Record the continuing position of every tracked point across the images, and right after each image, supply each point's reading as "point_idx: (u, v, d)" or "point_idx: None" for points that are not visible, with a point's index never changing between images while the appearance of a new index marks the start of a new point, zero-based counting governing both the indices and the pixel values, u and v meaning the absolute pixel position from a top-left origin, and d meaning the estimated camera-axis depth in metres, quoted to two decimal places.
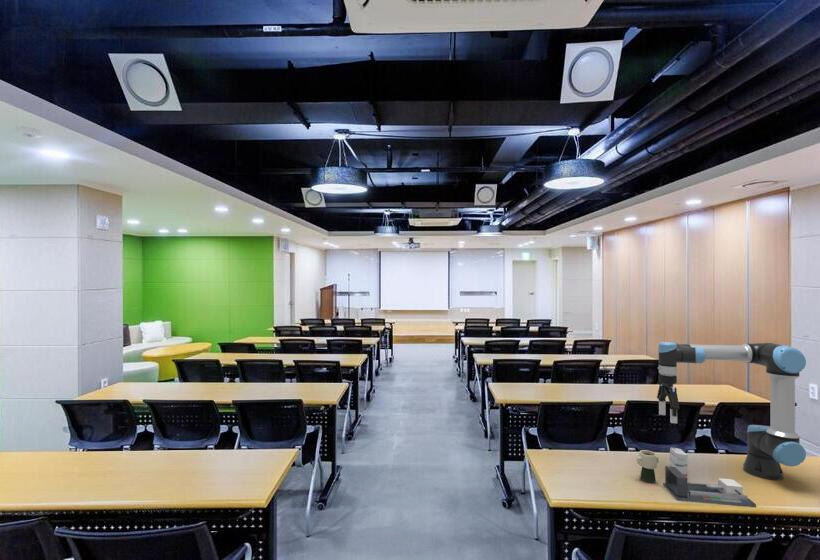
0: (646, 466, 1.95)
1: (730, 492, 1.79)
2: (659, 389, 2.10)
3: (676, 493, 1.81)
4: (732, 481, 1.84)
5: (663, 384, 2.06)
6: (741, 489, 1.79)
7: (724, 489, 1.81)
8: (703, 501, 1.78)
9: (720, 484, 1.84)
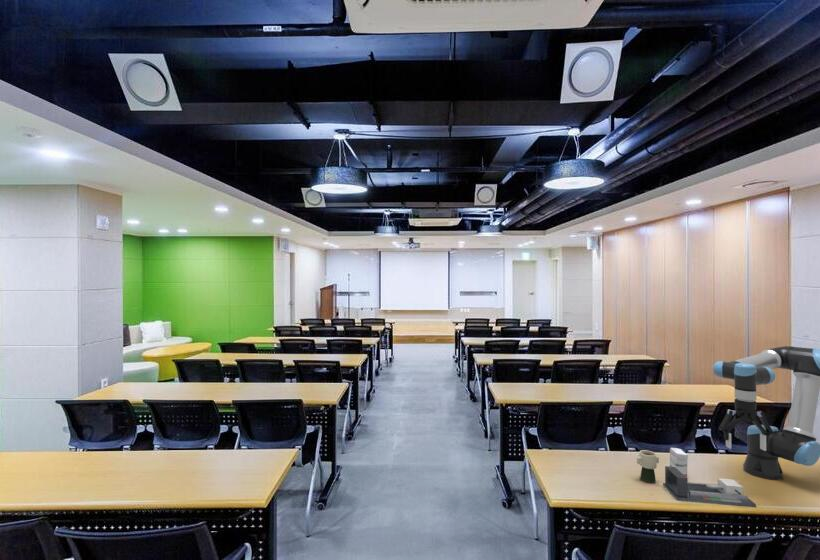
0: (646, 466, 1.95)
1: (730, 492, 1.79)
2: None
3: (676, 493, 1.81)
4: (732, 481, 1.84)
5: None
6: (741, 489, 1.79)
7: (724, 489, 1.81)
8: (703, 501, 1.78)
9: (720, 484, 1.84)
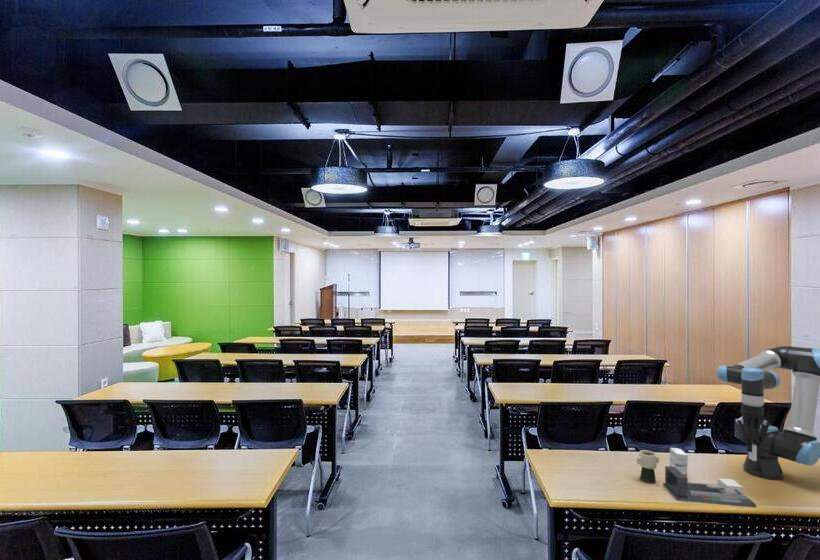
0: (646, 466, 1.95)
1: (730, 492, 1.79)
2: (760, 428, 1.82)
3: (676, 493, 1.81)
4: (732, 481, 1.84)
5: None
6: (741, 489, 1.79)
7: (724, 489, 1.81)
8: (703, 501, 1.78)
9: (720, 484, 1.84)
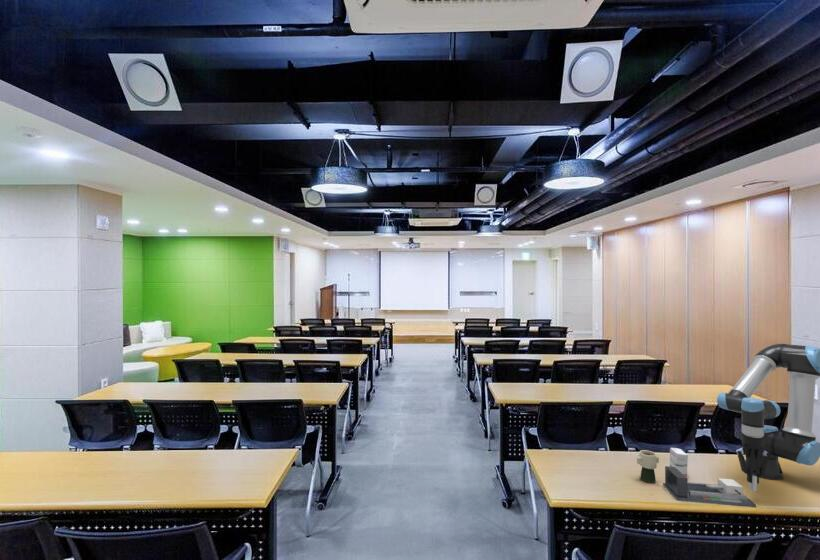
0: (646, 466, 1.95)
1: (730, 492, 1.79)
2: (761, 459, 1.82)
3: (676, 493, 1.81)
4: (732, 481, 1.84)
5: None
6: (741, 489, 1.79)
7: (724, 489, 1.81)
8: (703, 501, 1.78)
9: (720, 484, 1.84)
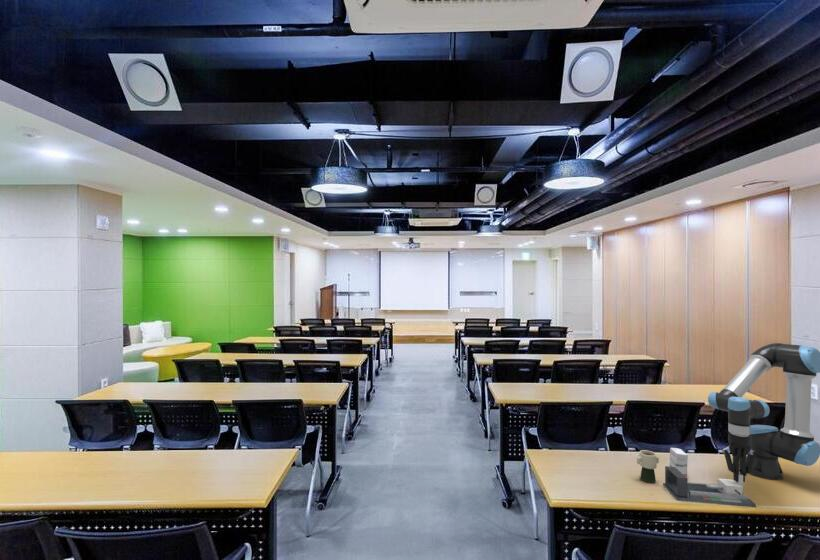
0: (646, 466, 1.95)
1: (730, 492, 1.79)
2: (747, 458, 1.83)
3: (676, 493, 1.81)
4: (732, 481, 1.84)
5: None
6: (741, 489, 1.79)
7: (724, 489, 1.81)
8: (703, 501, 1.78)
9: (720, 484, 1.84)
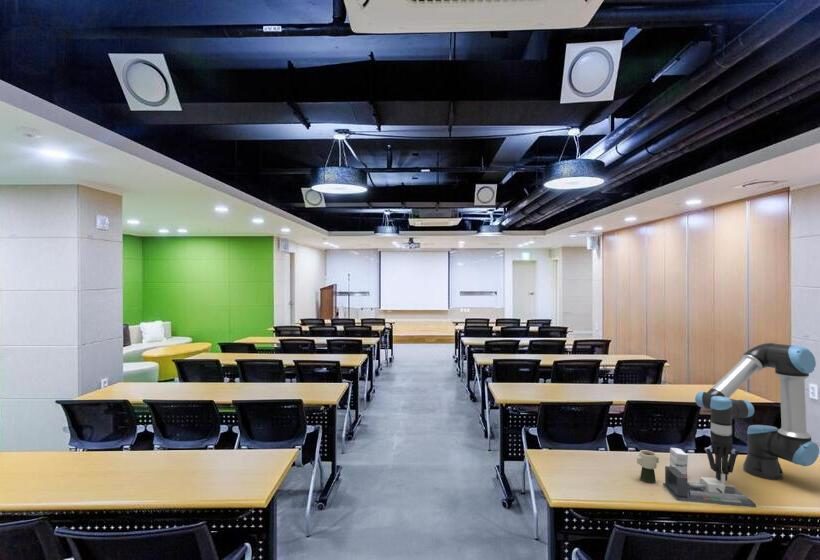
0: (646, 466, 1.95)
1: (712, 491, 1.80)
2: (729, 457, 1.84)
3: (676, 493, 1.81)
4: (714, 480, 1.85)
5: None
6: (723, 488, 1.80)
7: (706, 487, 1.82)
8: (703, 501, 1.78)
9: (702, 483, 1.85)
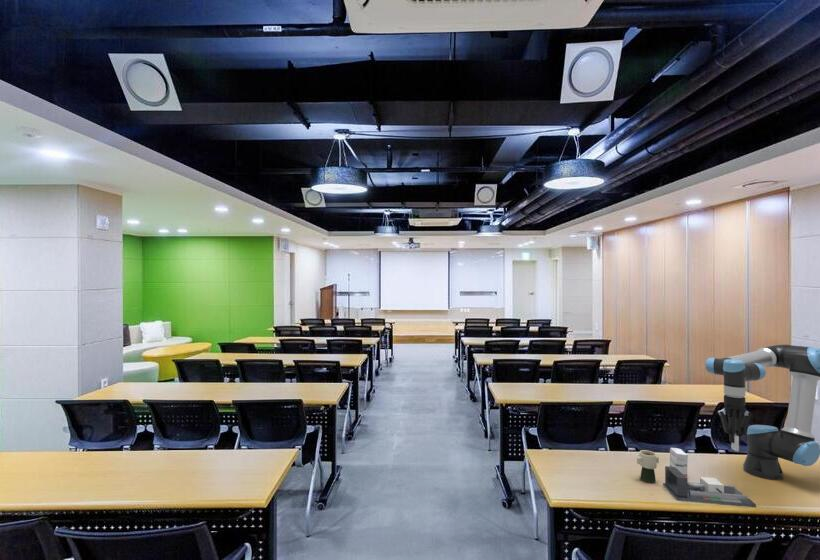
0: (646, 466, 1.95)
1: (712, 491, 1.80)
2: (742, 419, 1.84)
3: (676, 493, 1.81)
4: (714, 480, 1.85)
5: None
6: (722, 487, 1.80)
7: (706, 487, 1.82)
8: (703, 501, 1.78)
9: (702, 483, 1.86)
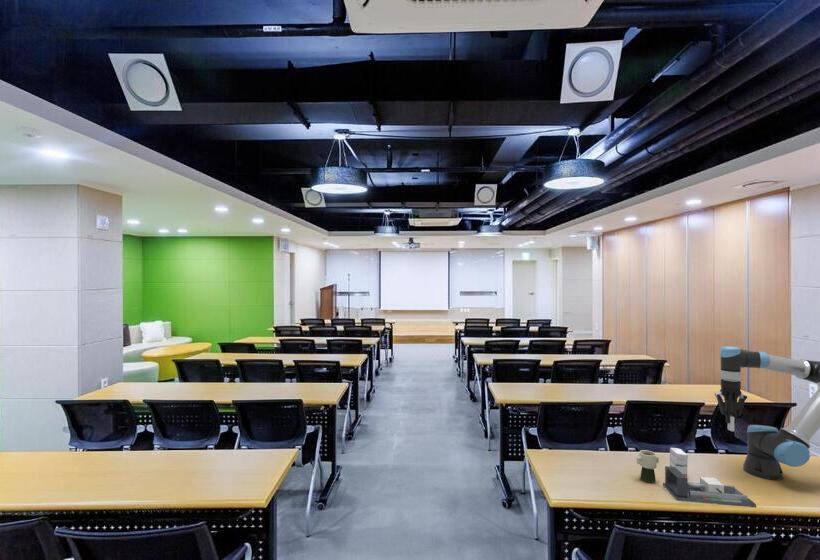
0: (646, 466, 1.95)
1: (712, 491, 1.80)
2: (738, 402, 1.98)
3: (676, 493, 1.81)
4: (714, 480, 1.85)
5: None
6: (722, 487, 1.80)
7: (706, 487, 1.82)
8: (703, 501, 1.78)
9: (702, 483, 1.86)
